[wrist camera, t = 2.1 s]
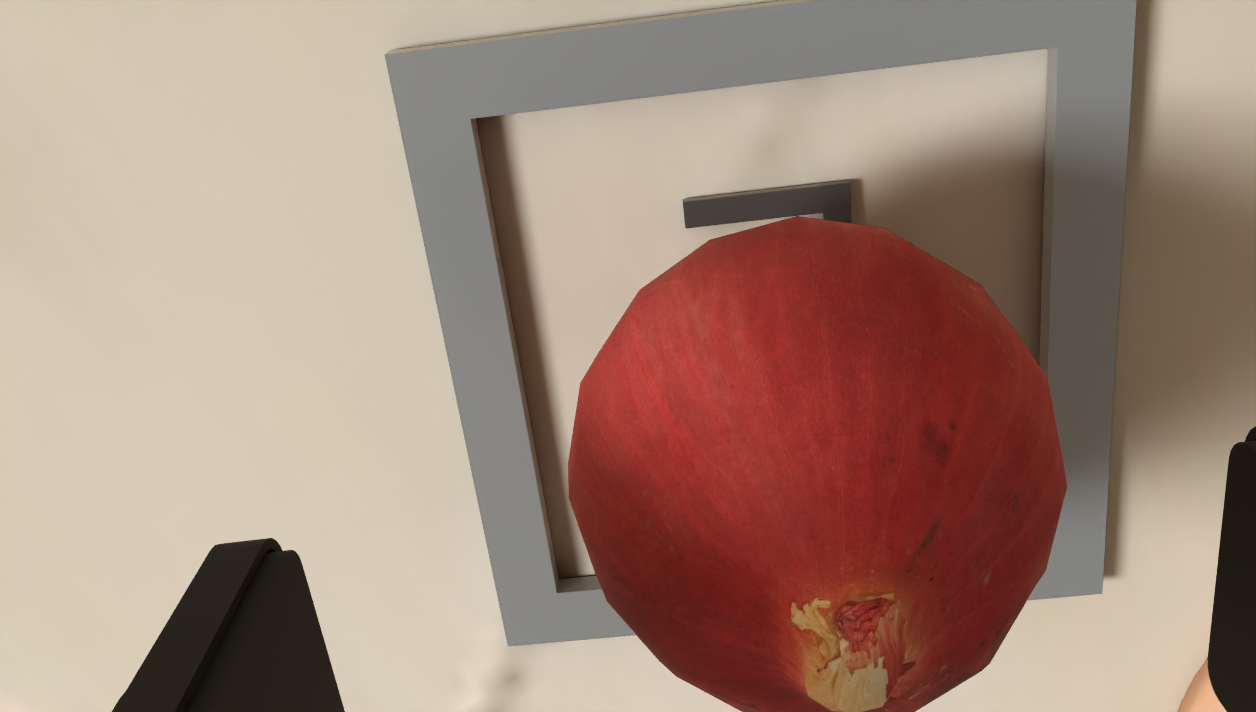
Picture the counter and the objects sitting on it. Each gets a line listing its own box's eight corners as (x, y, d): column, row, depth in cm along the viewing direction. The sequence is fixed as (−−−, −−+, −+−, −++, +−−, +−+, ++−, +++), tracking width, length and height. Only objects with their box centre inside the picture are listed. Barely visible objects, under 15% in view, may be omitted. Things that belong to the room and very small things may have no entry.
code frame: (1127, -44, 15) (1139, -42, 14) (1093, 579, 19) (1102, 593, 18) (391, 50, 15) (384, 54, 15) (511, 631, 19) (508, 646, 19)
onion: (1040, 378, 17) (1332, 762, 10) (734, 566, 18) (788, 1023, 11) (829, 73, 15) (993, 263, 8) (510, 309, 17) (400, 654, 9)
